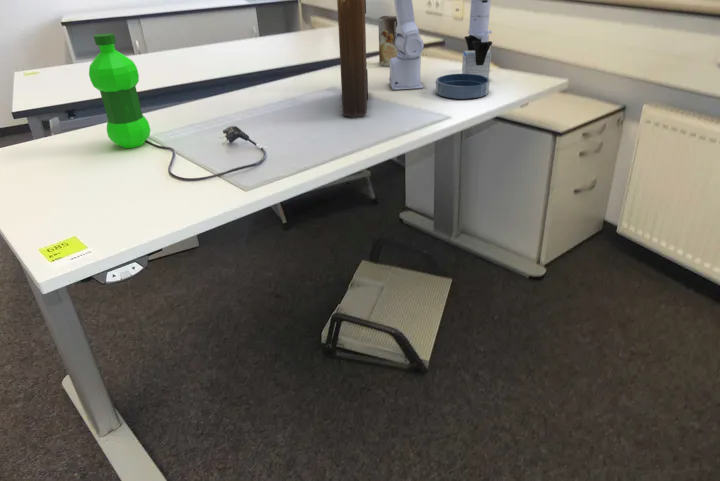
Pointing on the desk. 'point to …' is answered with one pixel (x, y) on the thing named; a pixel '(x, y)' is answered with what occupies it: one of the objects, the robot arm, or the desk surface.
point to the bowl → (462, 86)
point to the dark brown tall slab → (353, 56)
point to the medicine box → (470, 64)
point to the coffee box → (387, 39)
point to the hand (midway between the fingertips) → (476, 62)
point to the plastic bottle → (119, 93)
